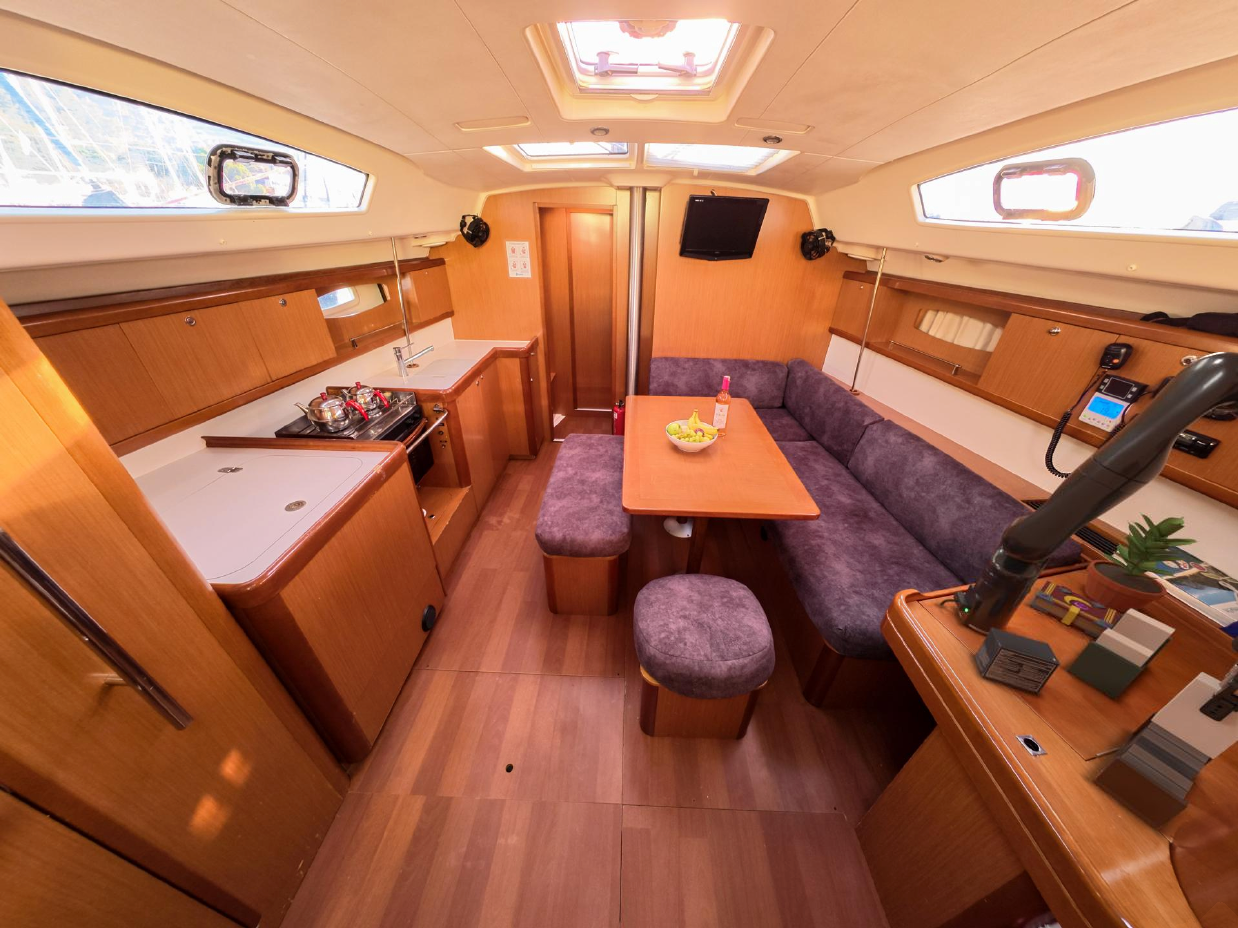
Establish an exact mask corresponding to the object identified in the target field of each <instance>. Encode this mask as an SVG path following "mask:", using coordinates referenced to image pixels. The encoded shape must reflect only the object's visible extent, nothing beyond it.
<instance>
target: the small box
mask: <svg viewBox="0 0 1238 928" xmlns="http://www.w3.org/2000/svg"><path fill="white" fill-rule="evenodd" d="M973 658H974V661H975V664H976V667H977V670H978V672H979V675H980V676H981V677H982V678H984V679H986V680H990V681H994V682H996V683H998V684H999V683H1000V684H1002V685H1006V686H1009V687H1011V688H1014V689H1019V690H1021V691H1024V692H1028V693H1030V694H1034V695H1036V696H1037V695H1039V694H1040V693H1041V691H1042V690H1043V688H1044V687H1045V686H1046V684H1047V683H1048V681H1049V680H1050V679H1051V677H1052V676H1053V674H1054V673H1055V671H1056V670H1057V669H1058V667H1060V666H1061V662H1060V661H1059V659H1058V657H1057V656H1056V654H1055V652H1054V650H1053V649H1052V648H1051V646H1050V645H1049V643H1047V642H1044V641H1041V640H1037V639H1034V638H1031V637H1027V636H1023V635H1019V634H1015V633H1012V632H1010V631H1009V632H1008V631H1005V630H1004V631H1002V630H998V629H995V628H991V630H990V632H989V633H988V635H986V636H985V638H984V640H983V641H982V643H981V645H980V646H979V648H978V650H977V651H976V653H975V655H974V656H973Z"/></svg>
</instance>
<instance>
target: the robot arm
mask: <svg viewBox="0 0 1238 928" xmlns="http://www.w3.org/2000/svg"><path fill="white" fill-rule="evenodd" d="M1212 410H1216V411H1220V412H1228V413H1230V414H1231V415H1233V416H1234V417H1236V418H1237V419H1238V352H1235V351H1220V352H1215V353H1211V354H1207V355H1205V356H1202V357H1199V358H1197V359H1196V360H1195V361H1193V362H1191V363H1189V364H1188V365H1187V366H1185V367H1184V368H1182V369H1181V370H1180V371H1179V372H1178V373H1177V374H1176V375H1175V376H1173V378H1171V380H1170V381H1169V382H1168V383H1166V385H1165V386H1164V387H1163V388H1162V389H1161V390H1160V391H1159V392H1158V393H1157V394H1156V395H1155V396H1154V397H1153V398H1152V399H1151V401H1150V402H1148V404H1146V406H1145V407H1144V408H1143V409H1142V410H1141V411H1140V412H1139V413H1138V414H1137V415H1136V416H1134V418H1133V419H1132V420H1131V421H1129V422H1128V423H1127V424H1125V426H1124V427H1122V429H1120V430H1119V431H1118V432H1117V433H1115V435H1113V437H1112V438H1110V439H1109V440H1108V441H1107V442H1106V443H1104V444H1103V445H1102V446H1101V447H1099V448H1098V449H1097V450H1096V451H1095V452H1094V453H1092V454H1091V455H1090V456H1088V457H1087V458H1086V459H1085V460H1084V461H1083V462H1081V463H1080V464H1079V465H1078V466H1077V467H1076V468H1075V469H1074V470H1072V471H1071V473H1070V474H1069V475H1068V476H1067V477H1066V478H1065V479H1064V480H1063V481H1062V482H1061V483H1060V484H1059V485H1058V487H1057V488H1056V489H1055V490H1054V491H1053V493H1052V494H1050V496H1049V497H1048V498H1047V500H1046V501H1044V503H1043V504H1041V505H1040V506H1039V507H1038V508H1037V509H1036V510H1035V511H1033V512H1031V513H1030V514H1028V515H1022V516H1019V517H1017V518H1015V519H1014V520H1012V521H1011V522H1010V523H1009V524H1008V525H1007V526H1006V528H1005V529H1004V530H1003V532H1002V535H1001V539H1000V541H999V543H998V545H997V546H996V548H995V549H994V551H993V552H992V553H991V555H990V557H989V559H988V560H987V562H986V564H985V565H984V567H983V569H982V570H981V573H980V574H979V576H978V578H977V580H976V581H975V584H971V583H970V585H968V587H967V589H966V590H965V592H963V591H959V590H956V591H955V592H954V594H953V596H952V598H947V599H943V600H942V601H941V602H940V603H939V605H940V606H941V607H942V606H944V605H945V604H946V603H955V605H956V608H955V609H956V613H957V615H958V617H959V619H960V622H961V625H962V626H965V627H968V628H970V629H971V630H973V631H975V632H977V633H979V634H981V635H984V636H987V635H988V633H989V632H990V630H991V628H995V629H998V630H1002V631H1005V629H1006V628H1007V626H1008V624H1009V623H1010V621H1011V620H1012V618H1013V617H1014V616H1015V614H1016V613H1017V611H1018V610H1019V608H1020V606H1021V604H1022V603H1023V602H1024V600H1025V598H1026V597H1027V595H1028V594H1029V592H1031V589H1032V588H1033V586H1034V584H1035V583H1036V582H1037V580H1038V579H1039V578H1040V576H1041V574H1042V573H1043V571H1044V570H1045V568H1046V566H1047V564H1048V563H1049V562H1050V560H1051V559H1052V557H1053V556H1054V554H1055V553H1056V552H1057V551H1058V550H1059V549H1060V548H1061V547H1062V546H1063V545H1064V544H1065V543H1066V542H1067V541H1068V540H1069V539H1070V538H1071V537H1073V535H1074V534H1076V533H1077V532H1078V531H1079V530H1080V529H1082V528H1083V527H1085V526H1086V525H1088V524H1090V523H1091V522H1093V521H1094V520H1096V519H1098V518H1099V517H1101V516H1103V515H1104V514H1106V513H1107V512H1109V511H1111V510H1112V509H1114V508H1115V507H1116V506H1118V505H1120V504H1121V503H1123V502H1124V501H1126V500H1127V499H1129V498H1130V497H1132V496H1133V495H1135V494H1136V493H1138V492H1139V491H1140V490H1141V489H1143V488H1144V487H1145V486H1147V485H1148V484H1150V483H1151V482H1152V481H1153V480H1155V479H1156V478H1157V477H1159V475H1160V474H1161V473H1162V471H1163V470H1164V468H1165V466H1166V464H1167V463H1168V462H1167V461H1168V459H1169V456H1170V454H1171V450H1172V449H1173V446H1174V445H1175V442H1176V441H1177V439H1178V438H1179V436H1181V434H1182V433H1184V431H1185V430H1187V429H1188V428H1189V427H1190V426H1192V425H1193V424H1194V423H1196V421H1198V420H1199V419H1201V417H1203V416H1205V415H1206V414H1207V413H1209V412H1211V411H1212ZM1230 644H1231V647H1232V649H1233V651H1235V652H1236V653H1237V654H1238V635H1237V636H1236V637H1234V639H1233V640H1232V641H1231V643H1230ZM1220 681H1221V682H1220V683H1219V685H1220V687H1221V689H1220V690H1219V691H1217V692H1216V693H1215V692H1214V693H1213V694H1212V695H1213V696H1212V698H1211V699H1210V700H1209V701H1207V702H1206V703H1205V704H1204V705H1203V706H1202V707H1201V708H1200V709H1199V711H1200V712H1201V713H1203V714H1204V715H1206V716H1208V717H1209V718H1211V719H1213V720H1215V721H1218V722H1220V721H1222V720H1223V719H1224V718H1225V717H1227V716H1228V715H1229V714H1230V713H1231V712H1233V711H1234V712H1236V713H1237V712H1238V660H1237V661H1235V663H1234V664H1233V666H1232V667H1230V669H1229V671H1228V672H1227V673H1226V674H1225V675H1224V678H1223V679H1222V680H1220Z"/></svg>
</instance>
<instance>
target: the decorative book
mask: <svg viewBox="0 0 1238 928" xmlns="http://www.w3.org/2000/svg"><path fill="white" fill-rule="evenodd" d="M1029 606H1030V607H1031V608H1034V609H1037V610H1038V611H1040V612H1042V613H1044V614H1047V615H1050V616H1052V617H1054V618H1056V619H1058V620H1060V622H1061V623H1063V624H1064V625H1067V626H1073V627H1074V628H1077V629H1078V630H1081V631H1083V632H1084V633H1085V634H1087V635H1090V636H1091V637H1093V638H1095V639H1096V640H1097V639H1098V638H1099V637H1100V635H1101V634H1102V633H1103V632H1104V631H1105V630H1106V629H1108V628H1109V629H1110V628H1111V627H1112V626H1113V625H1114V623H1115V622H1116V621H1117V620H1118V619H1119V617H1120V616H1121V615H1122V614H1121V613H1122V612H1119V611H1116V610H1113V609H1111V608H1108V607H1106V606H1105V604H1103V603H1101V602H1098V601H1096V600H1093V599H1091V598H1088V597H1086V596H1083V595H1081V594H1079V593H1077V592H1074V591H1073V589H1071V588H1068V587H1066V586H1064V585H1059V584H1056V583H1054V582H1052V581H1049V580H1046V582H1045V583H1044V584H1043V586H1042V587H1041V589H1039V590H1038V591H1037V593H1036V594H1035V596H1034V598H1033V599H1032V600H1031V602H1030V603H1029Z"/></svg>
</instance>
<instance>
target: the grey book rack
mask: <svg viewBox="0 0 1238 928" xmlns="http://www.w3.org/2000/svg"><path fill="white" fill-rule="evenodd" d="M1157 713H1158V712H1157V711H1154V712H1153V713H1151V715H1150V716H1148V718H1147V719H1146V720H1144V722H1142V723H1141V724H1140V726H1138V727H1137V728H1136V729H1135V730H1133V732H1132V733H1131V734H1130V735H1129V737H1128V738H1127V739H1126V740H1125V741H1124V743H1123V744H1122V745H1121V746H1120V747H1119V749H1118V750H1117V751H1116V752H1115V753H1114V754H1113V756H1112V757H1111V758H1110V760H1108V762H1107V763H1106V764H1105V765H1104V766H1103V768H1102V769H1101V770H1100V772H1098V774H1097V775H1096V776H1095V777H1094V779H1092V783H1093V784H1095V785H1096V786H1098V787H1099V789H1102V790H1103V791H1104V792H1105V793H1107V795H1109V796H1111V797H1112V798H1113V799H1115V800H1116V801H1117V802H1119V803H1120V804H1122V806H1124V807H1125V808H1126V809H1128V810H1129V811H1130V812H1132V813H1133V814H1134V815H1136V816H1137V817H1138V818H1140V820H1142V821H1143V822H1145V823H1147V824H1148V825H1149V826H1150V827H1151V828H1153V829H1154V830H1156V831H1158V830H1160V829H1161V828H1162V827H1164V825H1165V824H1167V823H1168V822H1170V821H1171V820H1172V819H1174V818H1175V817H1177V815H1179V814H1181V813H1182V812H1184V810H1186V809H1187V808H1188V807H1189V805H1190V803H1189V802H1187V801H1186V800H1185V797H1186V796H1187V794H1188V793H1189V791H1190V790H1191V788H1192V786H1193V784H1194V781H1192V780H1193V779H1194V778H1195V777H1197V775H1199V774H1200V773H1201V772H1202V770H1203V769H1204V767H1205V766H1206V765H1207V764H1209V763H1210V762H1212V761H1213V760H1214V759H1212V758H1210V757H1209V756H1207V755H1205V754H1204V753H1202V752H1201V751H1199V750H1197V749H1196V748H1194V747H1193V746H1191V745H1189V744H1188V743H1186V742H1185V741H1183V740H1182V739H1180V738H1178V737H1177V736H1175V735H1174V734H1172V733H1170V732H1169V731H1167V730H1166V729H1164V728H1162V727H1161V726H1159V725H1158V724H1156V723H1154V722H1153V721H1151V720H1152V719H1153V717H1154V716H1155V715H1156V714H1157Z"/></svg>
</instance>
